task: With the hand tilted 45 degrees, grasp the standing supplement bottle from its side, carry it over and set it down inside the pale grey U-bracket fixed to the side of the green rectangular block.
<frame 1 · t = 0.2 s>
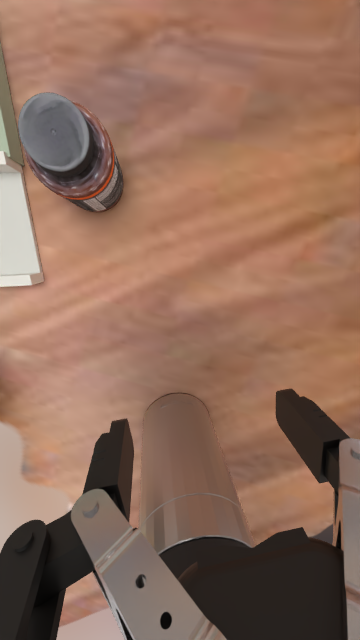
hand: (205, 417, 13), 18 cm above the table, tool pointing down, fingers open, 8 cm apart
supplement bottle: (95, 182, 25), on the table
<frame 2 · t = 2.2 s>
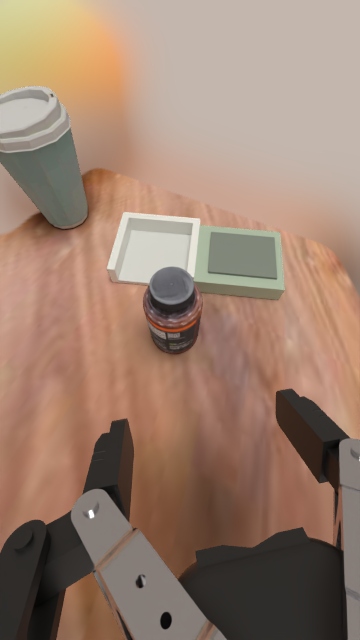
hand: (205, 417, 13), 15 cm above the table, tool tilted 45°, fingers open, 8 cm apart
disposable coffee cup: (69, 215, 41), on the table
supplement bottle: (174, 333, 32), on the table
chute bracket: (157, 259, 37), on the table
green rectangular block: (234, 266, 36), on the table
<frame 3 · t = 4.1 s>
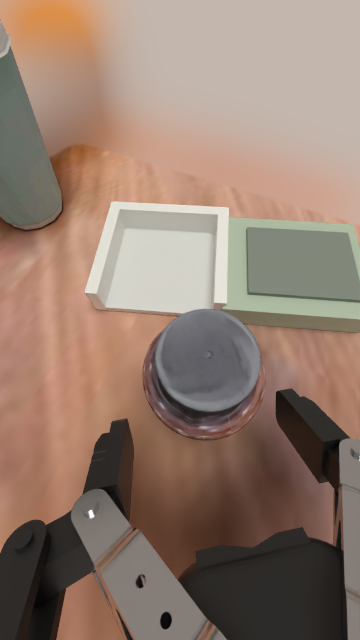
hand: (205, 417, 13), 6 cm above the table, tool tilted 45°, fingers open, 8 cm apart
disposable coffee cup: (36, 209, 28), on the table
supplement bottle: (196, 395, 20), on the table
chute bracket: (164, 271, 24), on the table
green rectangular block: (282, 279, 24), on the table
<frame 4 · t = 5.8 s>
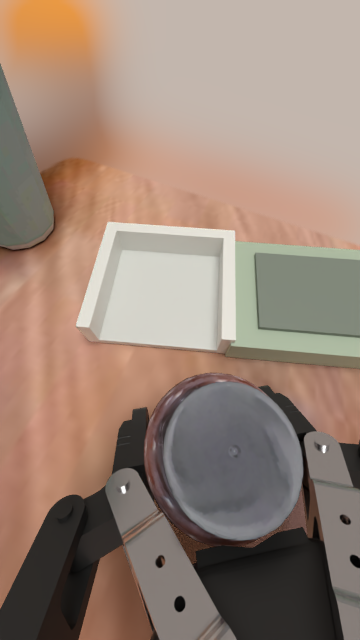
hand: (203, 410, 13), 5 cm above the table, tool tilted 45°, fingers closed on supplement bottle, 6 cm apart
disposable coffee cup: (25, 227, 26), on the table
supplement bottle: (202, 444, 17), on the table, touching gripper
chute bracket: (164, 298, 22), on the table
green rectangular block: (293, 308, 22), on the table
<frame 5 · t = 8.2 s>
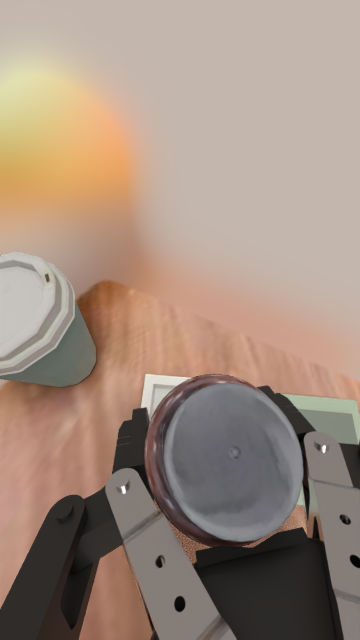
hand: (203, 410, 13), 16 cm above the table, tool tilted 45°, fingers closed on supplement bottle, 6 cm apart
disposable coffee cup: (71, 359, 31), on the table
supplement bottle: (202, 445, 17), point 11 cm above the table, touching gripper
chute bracket: (192, 435, 28), on the table
green rectangular block: (296, 445, 27), on the table
when the fingers open (6 cm above the table, at t = 11.0 s): supplement bottle drops 1 cm, resting on chute bracket.
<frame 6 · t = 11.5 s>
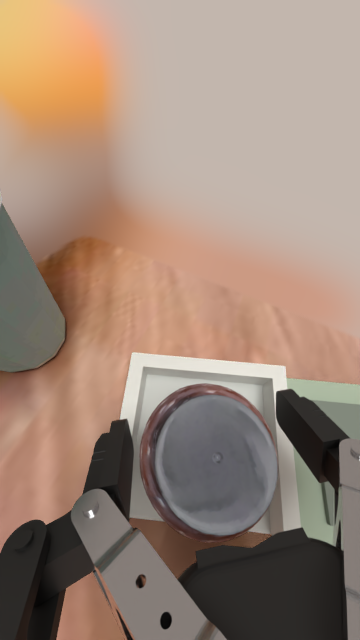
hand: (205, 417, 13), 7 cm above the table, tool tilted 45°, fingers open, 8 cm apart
disposable coffee cup: (32, 335, 23), on the table
supplement bottle: (196, 447, 18), resting on chute bracket
chute bracket: (200, 444, 19), on the table
green rectangular block: (355, 460, 18), on the table
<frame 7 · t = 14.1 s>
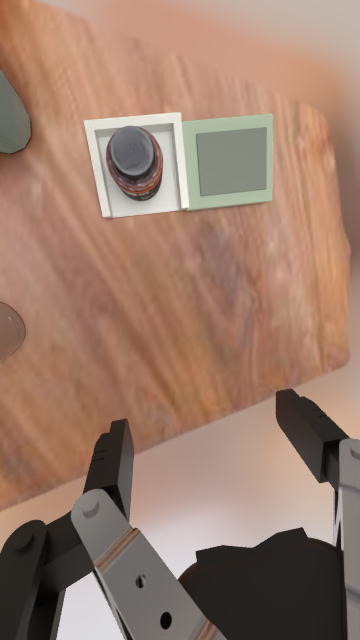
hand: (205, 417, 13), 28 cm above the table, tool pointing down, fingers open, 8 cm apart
disposable coffee cup: (3, 122, 30), on the table
supplement bottle: (139, 178, 33), resting on chute bracket
chute bracket: (141, 176, 34), on the table
green rectangular block: (223, 168, 34), on the table
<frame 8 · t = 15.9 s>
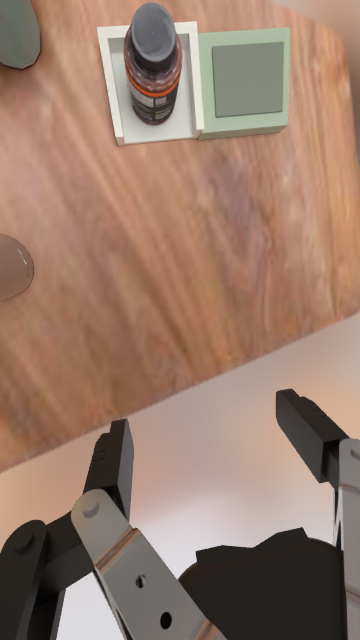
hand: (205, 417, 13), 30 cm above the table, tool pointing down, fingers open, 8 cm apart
disposable coffee cup: (12, 34, 29), on the table
supplement bottle: (152, 100, 32), resting on chute bracket
chute bracket: (154, 100, 33), on the table
green rectangular block: (237, 93, 34), on the table
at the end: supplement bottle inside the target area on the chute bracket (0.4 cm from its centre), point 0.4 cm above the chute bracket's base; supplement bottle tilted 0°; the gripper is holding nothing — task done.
